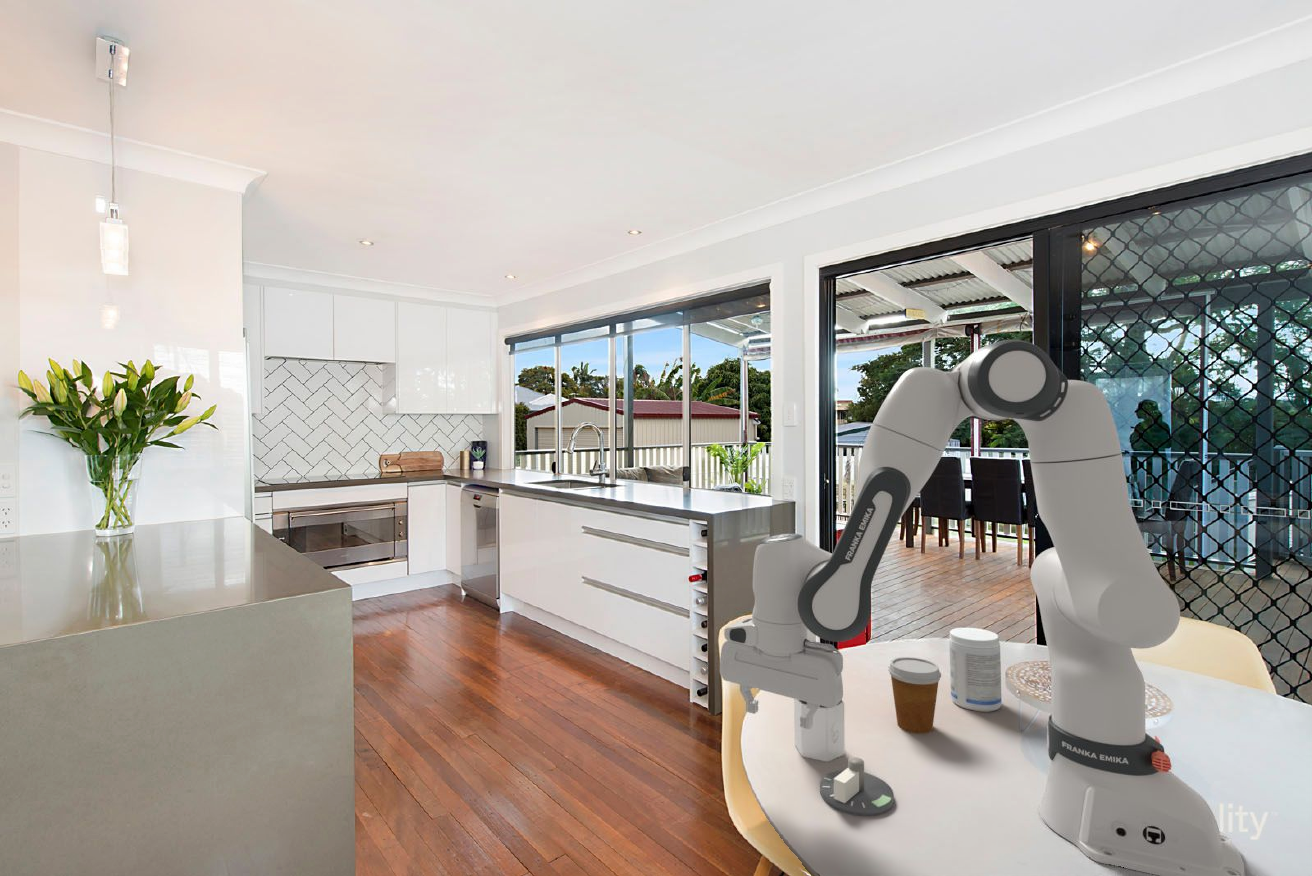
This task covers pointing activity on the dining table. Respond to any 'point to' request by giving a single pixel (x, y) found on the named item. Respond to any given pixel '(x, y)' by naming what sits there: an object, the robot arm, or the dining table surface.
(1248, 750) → the dining table surface
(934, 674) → the disposable coffee cup
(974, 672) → the supplement tub
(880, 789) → the dial
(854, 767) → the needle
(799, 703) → the jar
